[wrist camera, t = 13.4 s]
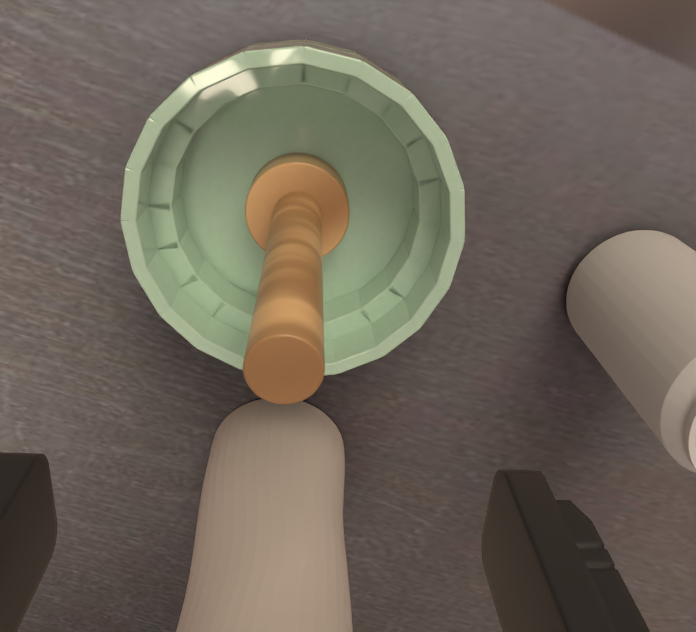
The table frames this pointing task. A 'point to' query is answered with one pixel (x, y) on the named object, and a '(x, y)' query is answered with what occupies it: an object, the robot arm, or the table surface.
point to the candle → (271, 526)
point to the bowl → (241, 168)
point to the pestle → (292, 273)
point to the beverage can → (644, 329)
